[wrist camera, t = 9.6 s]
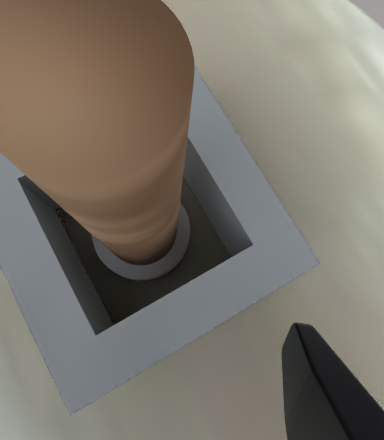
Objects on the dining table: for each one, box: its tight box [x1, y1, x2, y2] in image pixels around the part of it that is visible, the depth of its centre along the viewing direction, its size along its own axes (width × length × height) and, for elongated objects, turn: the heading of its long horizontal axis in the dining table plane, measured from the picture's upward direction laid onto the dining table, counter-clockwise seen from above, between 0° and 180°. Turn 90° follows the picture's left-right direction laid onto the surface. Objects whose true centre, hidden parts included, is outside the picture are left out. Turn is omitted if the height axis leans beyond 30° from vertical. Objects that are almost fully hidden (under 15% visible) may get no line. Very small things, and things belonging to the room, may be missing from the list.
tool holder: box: [0, 66, 320, 415], centre depth 15 cm, size 10×10×4 cm
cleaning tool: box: [0, 0, 195, 281], centre depth 11 cm, size 4×4×13 cm
